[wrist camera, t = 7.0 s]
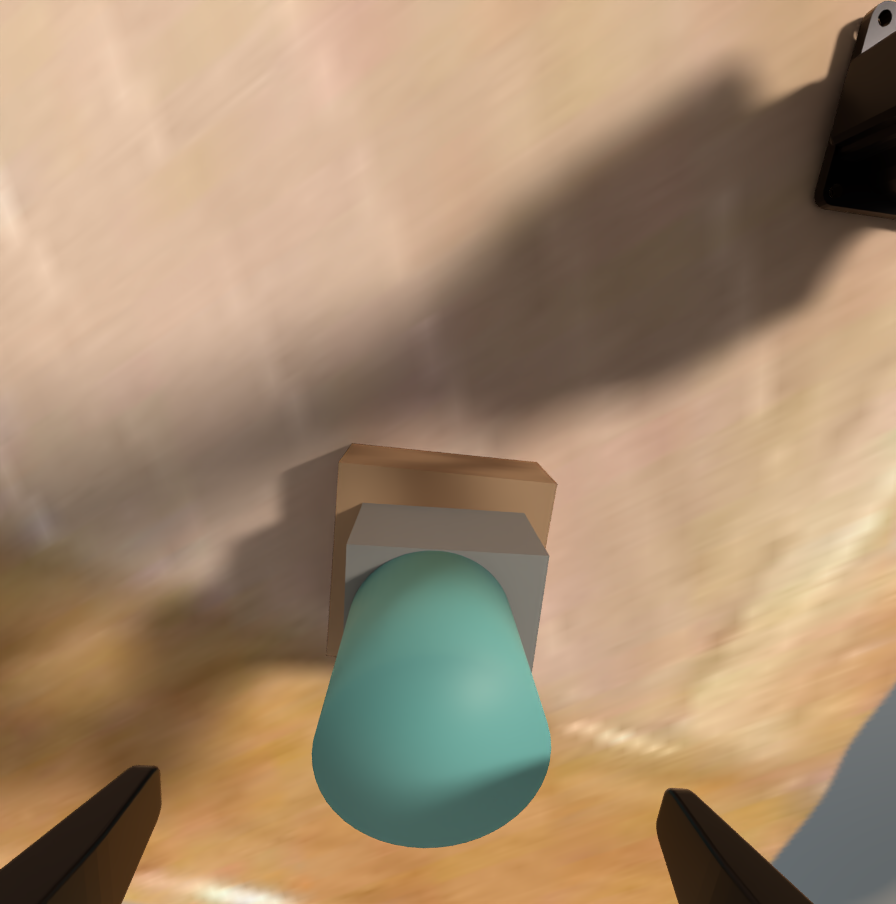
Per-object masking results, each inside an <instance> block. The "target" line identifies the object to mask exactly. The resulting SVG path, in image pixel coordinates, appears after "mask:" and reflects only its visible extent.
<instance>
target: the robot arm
mask: <svg viewBox="0 0 896 904" xmlns="http://www.w3.org/2000/svg"><path fill="white" fill-rule="evenodd" d="M878 19H880V22H881V26H880V25H879V23H878ZM830 189H832V190H833V197H832V198H831V196H830V194H829V193H830ZM814 199H815V203H816V204H817V206H818V207H820V208H822V209H828V210H835V211H842V212H848V213H855V214H862V215H869V216H876V217H882V218H889V219H896V2H893V1H884V2H882V3H880V4H879V5H877V6H876V7H875V8H873V9H872V10H871V11H869V12H868V13H867V14H866V15H865V16H864V18H863V20H862V22H861V25H860V29H859V33H858V36H857V40H856V44H855V47H854V51H853V55H852V58H851V62H850V65H849V69H848V73H847V76H846V80H845V84H844V87H843V91H842V94H841V98H840V102H839V105H838V109H837V113H836V116H835V120H834V124H833V127H832V131H831V135H830V139H829V143H828V146H827V150H826V154H825V157H824V161H823V165H822V168H821V172H820V176H819V179H818V183H817V187H816V190H815V196H814ZM160 810H161V781H160V770H159V768H158V767H156V766H145V765H136V766H132V767H130V768H128V769H127V770H126V771H124V772H123V773H122V774H121V775H119V776H118V777H117V778H116V779H114V780H113V781H112V782H110V783H109V784H108V785H107V786H105V787H104V788H103V789H102V790H100V791H99V792H98V793H97V794H95V795H94V796H93V797H91V798H90V799H89V800H88V801H86V802H85V803H84V804H83V805H81V806H80V807H79V808H78V809H76V810H75V811H74V812H72V813H71V814H70V815H69V816H67V817H66V818H65V819H64V820H62V821H61V822H60V823H59V824H57V825H56V826H55V827H53V828H52V829H51V830H50V831H48V832H47V833H46V834H45V835H43V836H42V837H41V838H40V839H38V840H37V841H36V842H34V843H33V844H32V845H31V846H29V847H28V848H27V849H26V850H24V851H23V852H22V853H21V854H19V855H18V856H17V857H15V858H14V859H13V860H12V861H10V862H9V863H8V864H7V865H5V866H4V867H3V868H2V869H0V904H121V903H122V901H123V899H124V897H125V894H126V892H127V890H128V887H129V885H130V883H131V880H132V878H133V876H134V873H135V871H136V869H137V866H138V864H139V862H140V859H141V857H142V855H143V852H144V850H145V848H146V845H147V843H148V841H149V838H150V836H151V834H152V831H153V829H154V827H155V825H156V822H157V820H158V817H159V814H160ZM656 829H657V835H658V839H659V843H660V846H661V849H662V852H663V855H664V859H665V862H666V865H667V868H668V871H669V874H670V878H671V881H672V884H673V887H674V890H675V894H676V897H677V900H678V903H679V904H813V903H812V902H811V901H810V900H809V899H808V898H807V897H806V896H805V895H804V894H803V893H802V892H800V891H799V890H798V889H797V888H796V887H795V886H794V885H793V884H792V883H791V882H790V881H789V880H788V879H786V878H785V877H784V876H783V875H782V874H781V873H780V872H779V871H778V870H777V869H775V868H774V867H773V866H772V865H771V864H770V863H769V862H768V861H767V860H766V859H765V858H764V857H763V856H762V855H760V854H759V853H758V852H757V851H756V850H755V849H754V848H753V847H752V846H751V845H750V844H749V843H748V842H746V841H745V840H744V839H743V838H742V837H741V836H740V835H739V834H738V833H737V832H736V831H735V830H733V829H732V828H731V827H730V826H729V825H728V824H727V823H726V822H725V821H724V820H723V819H722V818H721V817H719V816H718V815H717V814H716V813H715V812H714V811H713V810H712V809H711V808H710V807H709V806H708V805H706V804H705V803H704V802H703V801H702V800H701V799H700V798H699V797H698V796H697V795H696V794H694V793H693V792H692V791H690V790H688V789H680V788H669V789H667V790H666V791H665V793H664V796H663V800H662V803H661V807H660V811H659V814H658V818H657V823H656Z"/></svg>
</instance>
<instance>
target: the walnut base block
mask: <svg viewBox="0 0 896 904" xmlns="http://www.w3.org/2000/svg"><path fill="white" fill-rule="evenodd" d="M556 488H557V483H556V482H555V481H554V480H553V479H552V478H551V477H550V476H549V475H548V474H547V473H546V471H545V470H544V469H543V468H542V467H541V466H540V465H539V464H538V463H537V462H529V461H519V460H509V459H499V458H490V457H480V456H470V455H460V454H451V453H441V452H431V451H421V450H412V449H402V448H392V447H382V446H373V445H363V444H353V443H352V444H351V446H350V447H349V449H348V450H347V451H346V453H345V454H344V456H343V457H342V458H341V460H340V461H339V465H338V481H337V496H336V512H335V528H334V544H333V559H332V575H331V591H330V607H329V623H328V638H327V654H326V656H335V657H337V654H338V650H339V647H340V643H341V640H342V636H343V625H344V598H345V570H346V544H347V542H348V539H349V537H350V534H351V531H352V529H353V526H354V524H355V521H356V519H357V516H358V514H359V511H360V509H361V506H362V504H363V503H375V504H391V505H407V506H422V507H438V508H454V509H470V510H485V511H501V512H517V513H525V515H526V517H527V518H528V520H529V522H530V524H531V525H532V527H533V529H534V531H535V532H536V534H537V536H538V537H539V539H540V541H541V543H542V544H543V546H544V548H546V543H547V537H548V532H549V526H550V521H551V515H552V510H553V504H554V499H555V493H556Z"/></svg>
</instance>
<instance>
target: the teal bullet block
mask: <svg viewBox="0 0 896 904" xmlns="http://www.w3.org/2000/svg"><path fill="white" fill-rule="evenodd" d="M550 754H551V739H550V732H549V728H548V723H547V720H546V717H545V714H544V711H543V708H542V705H541V702H540V698H539V695H538V692H537V689H536V686H535V683H534V680H533V677H532V673H531V670H530V667H529V664H528V661H527V658H526V655H525V652H524V648H523V645H522V642H521V639H520V636H519V633H518V630H517V627H516V623H515V620H514V617H513V614H512V611H511V608H510V605H509V602H508V599H507V597H506V594H505V592H504V590H503V588H502V587H501V585H500V584H499V582H498V581H497V580H496V578H495V577H494V576H493V575H492V574H491V573H490V572H489V571H488V570H487V569H485V568H484V567H482V566H481V565H480V564H478V563H476V562H475V561H473V560H471V559H469V558H466V557H464V556H461V555H458V554H454V553H451V552H444V551H419V552H413V553H409V554H405V555H402V556H399V557H397V558H394V559H392V560H390V561H388V562H386V563H385V564H383V565H382V566H380V567H379V568H377V569H376V570H375V571H374V572H373V573H371V574H370V575H369V576H368V577H367V578H366V580H365V581H364V582H363V583H362V584H361V586H360V587H359V589H358V591H357V592H356V594H355V596H354V599H353V601H352V604H351V607H350V611H349V614H348V618H347V622H346V625H345V629H344V632H343V636H342V640H341V643H340V647H339V650H338V654H337V657H336V661H335V665H334V668H333V672H332V675H331V679H330V683H329V686H328V690H327V693H326V697H325V700H324V704H323V708H322V711H321V715H320V718H319V722H318V725H317V729H316V733H315V736H314V740H313V748H312V766H313V771H314V775H315V779H316V782H317V784H318V787H319V789H320V791H321V793H322V795H323V796H324V798H325V800H326V802H327V803H328V804H329V805H330V807H331V808H332V809H333V810H334V811H335V812H336V813H337V814H338V815H339V816H340V817H341V818H342V819H343V820H344V821H345V822H347V823H348V824H350V825H351V826H352V827H354V828H355V829H357V830H359V831H360V832H362V833H364V834H366V835H368V836H370V837H373V838H375V839H378V840H380V841H384V842H387V843H391V844H394V845H400V846H406V847H416V848H438V847H446V846H453V845H457V844H461V843H466V842H469V841H472V840H475V839H478V838H481V837H483V836H485V835H487V834H489V833H491V832H494V831H495V830H497V829H499V828H500V827H502V826H504V825H505V824H507V823H508V822H509V821H511V820H512V819H513V818H515V817H516V816H517V815H518V814H519V813H520V812H521V811H522V810H523V809H524V808H525V807H526V806H527V805H528V804H529V803H530V801H531V800H532V799H533V798H534V796H535V795H536V793H537V792H538V790H539V788H540V787H541V785H542V783H543V780H544V778H545V776H546V773H547V770H548V766H549V762H550Z"/></svg>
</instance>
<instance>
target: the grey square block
mask: <svg viewBox="0 0 896 904" xmlns="http://www.w3.org/2000/svg"><path fill="white" fill-rule="evenodd" d="M419 551H444V552H451V553H454V554H458V555H461V556H464V557H466V558H469V559H471V560H473V561H475V562H476V563H478V564H480V565H481V566H482V567H484V568H485V569H487V570H488V571H489V572H490V573H491V574H492V575H493V576H494V577H495V578H496V580H497V581H498V582H499V584H500V585H501V587H502V588H503V590H504V592H505V594H506V597H507V599H508V602H509V605H510V608H511V611H512V614H513V617H514V620H515V623H516V627H517V630H518V633H519V636H520V639H521V642H522V645H523V648H524V652H525V655H526V658H527V661H528V664H529V667H530V670H531V673H532V667H533V661H534V654H535V647H536V641H537V634H538V628H539V621H540V614H541V608H542V601H543V594H544V588H545V581H546V574H547V568H548V561H549V555H548V553H547V551H546V549H545V548H544V546H543V544H542V543H541V541H540V539H539V537H538V536H537V534H536V532H535V531H534V529H533V527H532V525H531V524H530V522H529V520H528V518H527V517H526V515H525V513H517V512H501V511H485V510H470V509H454V508H438V507H422V506H407V505H391V504H375V503H363V504H362V506H361V509H360V511H359V514H358V516H357V519H356V521H355V524H354V526H353V529H352V531H351V534H350V537H349V539H348V542H347V544H346V570H345V598H344V625H343V632H344V629H345V625H346V622H347V618H348V614H349V611H350V607H351V604H352V601H353V599H354V596H355V594H356V592H357V591H358V589H359V587H360V586H361V584H362V583H363V582H364V581H365V580H366V578H367V577H368V576H369V575H370V574H371V573H373V572H374V571H375V570H376V569H377V568H379V567H380V566H382V565H383V564H385V563H386V562H388V561H390V560H392V559H394V558H397V557H399V556H402V555H405V554H409V553H413V552H419Z"/></svg>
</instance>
